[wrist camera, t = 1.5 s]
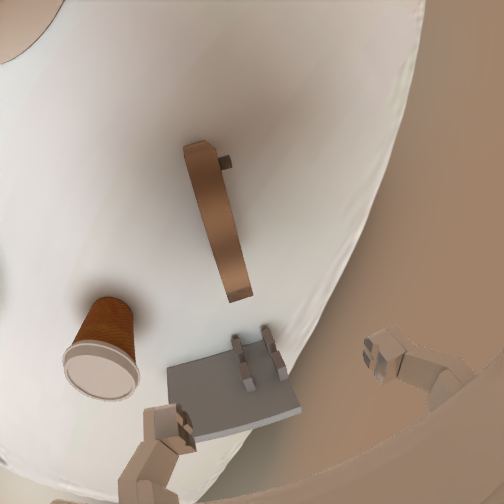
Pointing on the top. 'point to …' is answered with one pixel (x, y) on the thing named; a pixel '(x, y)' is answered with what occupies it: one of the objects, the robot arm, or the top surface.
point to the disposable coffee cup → (104, 353)
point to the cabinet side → (234, 389)
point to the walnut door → (218, 216)
